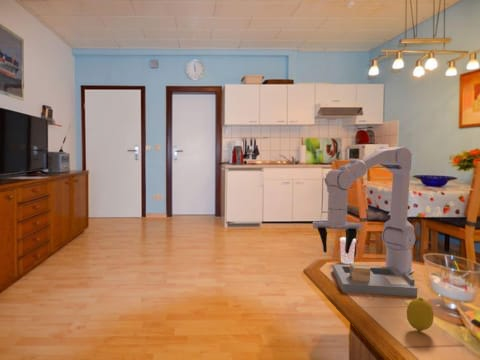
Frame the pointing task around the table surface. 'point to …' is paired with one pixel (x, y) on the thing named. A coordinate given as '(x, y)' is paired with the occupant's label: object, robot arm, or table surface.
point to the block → (359, 272)
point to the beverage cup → (347, 257)
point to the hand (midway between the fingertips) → (335, 252)
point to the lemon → (420, 314)
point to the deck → (375, 281)
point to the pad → (397, 280)
